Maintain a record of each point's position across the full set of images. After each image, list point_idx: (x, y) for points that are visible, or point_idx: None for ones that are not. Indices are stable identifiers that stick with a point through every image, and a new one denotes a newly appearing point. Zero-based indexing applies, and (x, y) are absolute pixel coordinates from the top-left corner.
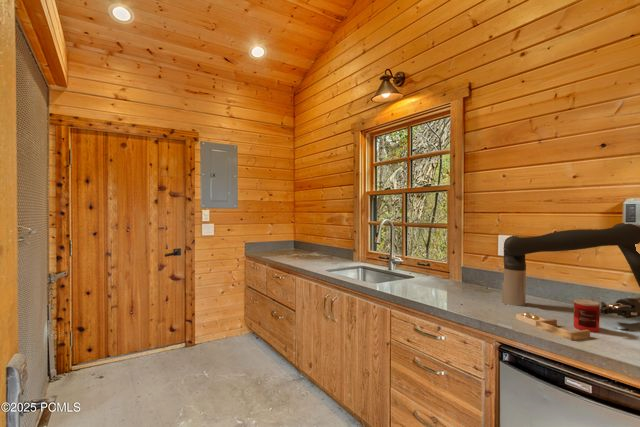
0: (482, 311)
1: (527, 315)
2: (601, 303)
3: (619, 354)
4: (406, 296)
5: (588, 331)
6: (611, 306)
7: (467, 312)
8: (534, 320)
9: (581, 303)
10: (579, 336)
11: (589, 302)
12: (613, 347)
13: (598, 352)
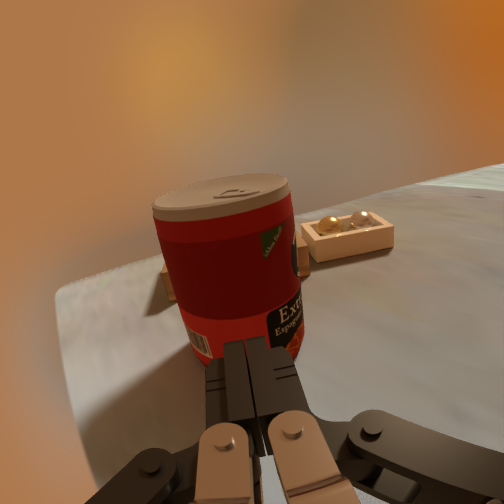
0: (433, 206)
1: (350, 217)
2: (476, 445)
3: (81, 297)
4: (482, 171)
5: (163, 271)
6: (294, 483)
7: (411, 195)
8: (307, 223)
9: (207, 182)
10: None
11: (216, 199)
12: (101, 312)
13: (113, 274)
